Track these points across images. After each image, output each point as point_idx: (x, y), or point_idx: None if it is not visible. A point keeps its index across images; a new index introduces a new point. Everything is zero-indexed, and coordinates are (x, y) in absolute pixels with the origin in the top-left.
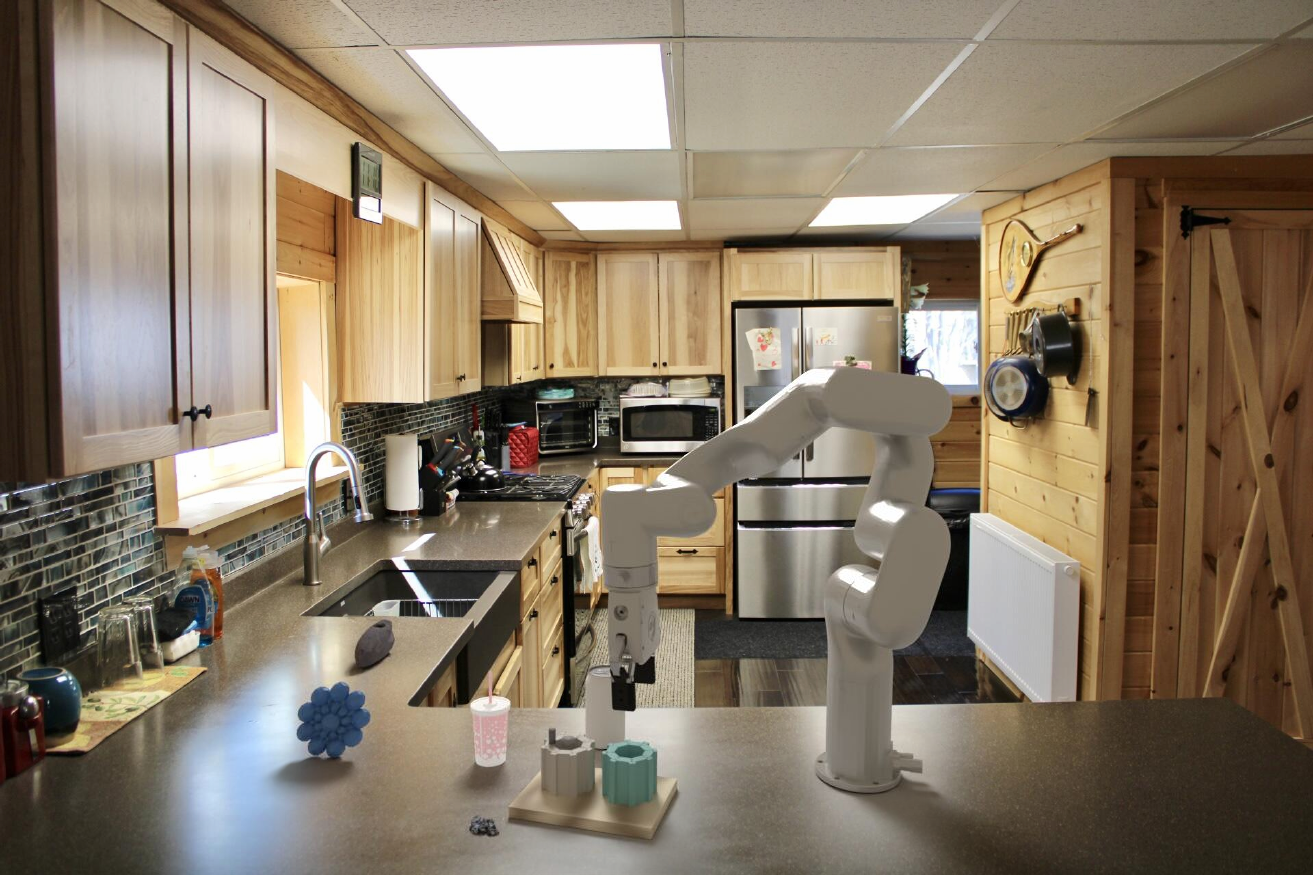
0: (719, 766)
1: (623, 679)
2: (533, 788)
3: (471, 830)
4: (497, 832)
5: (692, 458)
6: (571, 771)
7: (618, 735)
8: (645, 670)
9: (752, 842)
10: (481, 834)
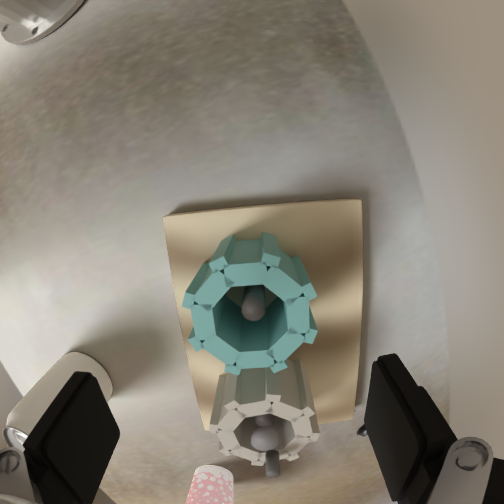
0: (68, 173)
1: (502, 463)
2: None
3: None
4: None
5: None
6: (310, 391)
7: (81, 365)
8: (84, 434)
9: (299, 39)
10: None
